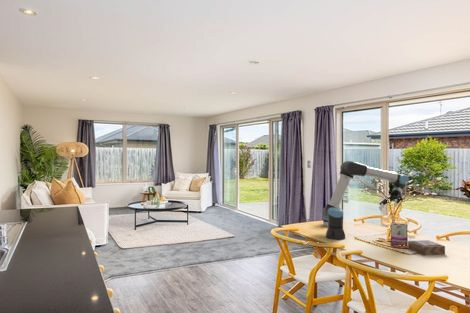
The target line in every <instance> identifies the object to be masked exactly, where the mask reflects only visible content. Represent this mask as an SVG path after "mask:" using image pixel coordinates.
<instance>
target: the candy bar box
mask: <svg viewBox="0 0 470 313" xmlns="http://www.w3.org/2000/svg"><path fill="white" fill-rule="evenodd" d="M408 241H409V240H408V223H404V222H403V223H402V222H401V223H400V222H399V223H398V222H391V223H390V246H393V245H401V246H400V247H402V246H403V245H405V246H407V247H408V245H407V244H408Z"/></svg>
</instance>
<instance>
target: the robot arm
mask: <svg viewBox="0 0 470 313" xmlns="http://www.w3.org/2000/svg"><path fill="white" fill-rule="evenodd" d="M355 176H357V177H358V176H359V177H368V178H369V177H370V178H375V179H380V180H383V181H387V182H390V183H391V184H392V185H393V189H392V191H391V192H390V193H389V194H390V195H389V197H388V196H386V197H387V198H388V199H389V200H390V202H393V201H394V203H393V205H394V207H397V206H398V204H399V203H400V202H401V201H402V202H403V201H404V199H403V193H404V191H405V190H403V188H404V186H405V183H406V182H407V183H406V184H408V183H409V180H410V178H409V176H408V175H407V174H402V173H398V172H396V171H395V170H391V171H389V170H383V169H379V168H376V167H375V168H374V167H370V166H368V165H367V164H363V163H361V162H357V161H353V160H345V161H344V162H342V163H341V165H340V171H339V179H338V181H337V184H336V186H335V188H334V191H333V193H332V195H331V198H330V200H329V202H328V203H326V205H325V207H323V209H322V212H321V215H322V218H323V217H324V218H325V219H326V220H327V221H328V226H327V230H326V233H325V237H326V239H331V240H336V241H337V240H344V239H346V233H345V230H344V210H343V209H342V208H341V204H342V200H343V198H344V195H345V194H346V191H347V189H348V187H349V185H350V184H349V183H350V181H351V180H353V179H354V177H355ZM390 202H387V200H386V199H385V198H384V199H382V200H381V201H380V202H379V207H378V209H379V210H380V211H382V209H383V208H384V207H385V205H386V204H388V203H390Z"/></svg>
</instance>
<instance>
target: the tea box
mask: <svg viewBox="0 0 470 313" xmlns="http://www.w3.org/2000/svg"><path fill="white" fill-rule="evenodd" d="M322 218H323V219H322V220H323V221H322V222H323V223H322V225H323V226H327V227H328V221H327V220H326V219H325V218H324V217H323V216H322Z"/></svg>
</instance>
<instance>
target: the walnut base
mask: <svg viewBox="0 0 470 313" xmlns="http://www.w3.org/2000/svg"><path fill="white" fill-rule="evenodd" d="M407 249H408V250H410V251H413V252H414V253H417V254H420V255H422V256H437V255H438V256H440V255H446V246H445V245H444V244H443V245H442V244H441V243H440V244H439V243H437V242H434V241H431V240H429V239H428V240H427V239H426V240H425V239H424V240H423V239H422V240H421V239H419V240H408V245H407Z"/></svg>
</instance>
